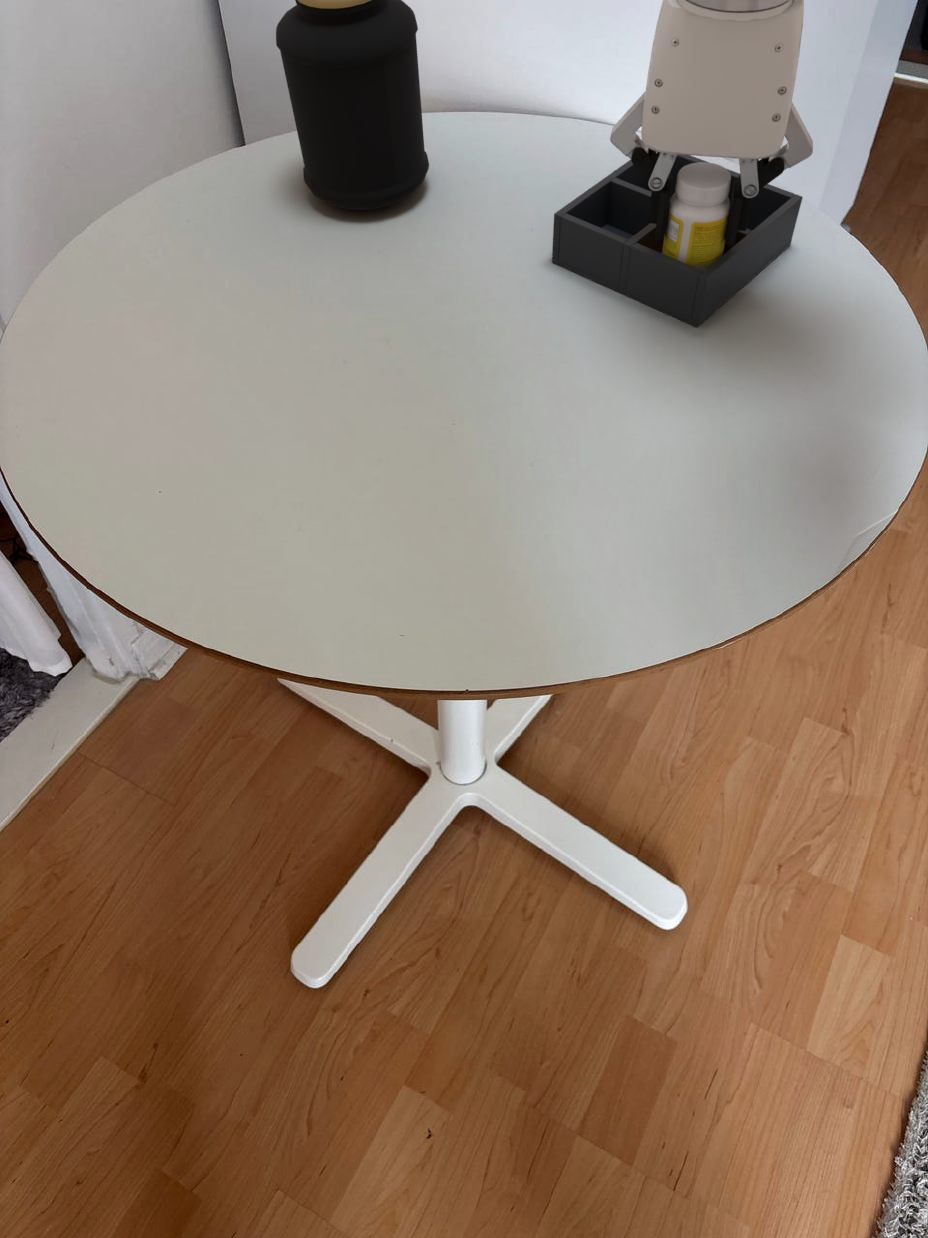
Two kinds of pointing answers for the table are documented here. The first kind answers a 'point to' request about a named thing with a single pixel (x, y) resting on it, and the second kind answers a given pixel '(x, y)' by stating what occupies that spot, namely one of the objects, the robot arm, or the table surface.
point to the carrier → (631, 257)
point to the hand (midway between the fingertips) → (695, 231)
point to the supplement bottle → (698, 215)
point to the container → (355, 99)
